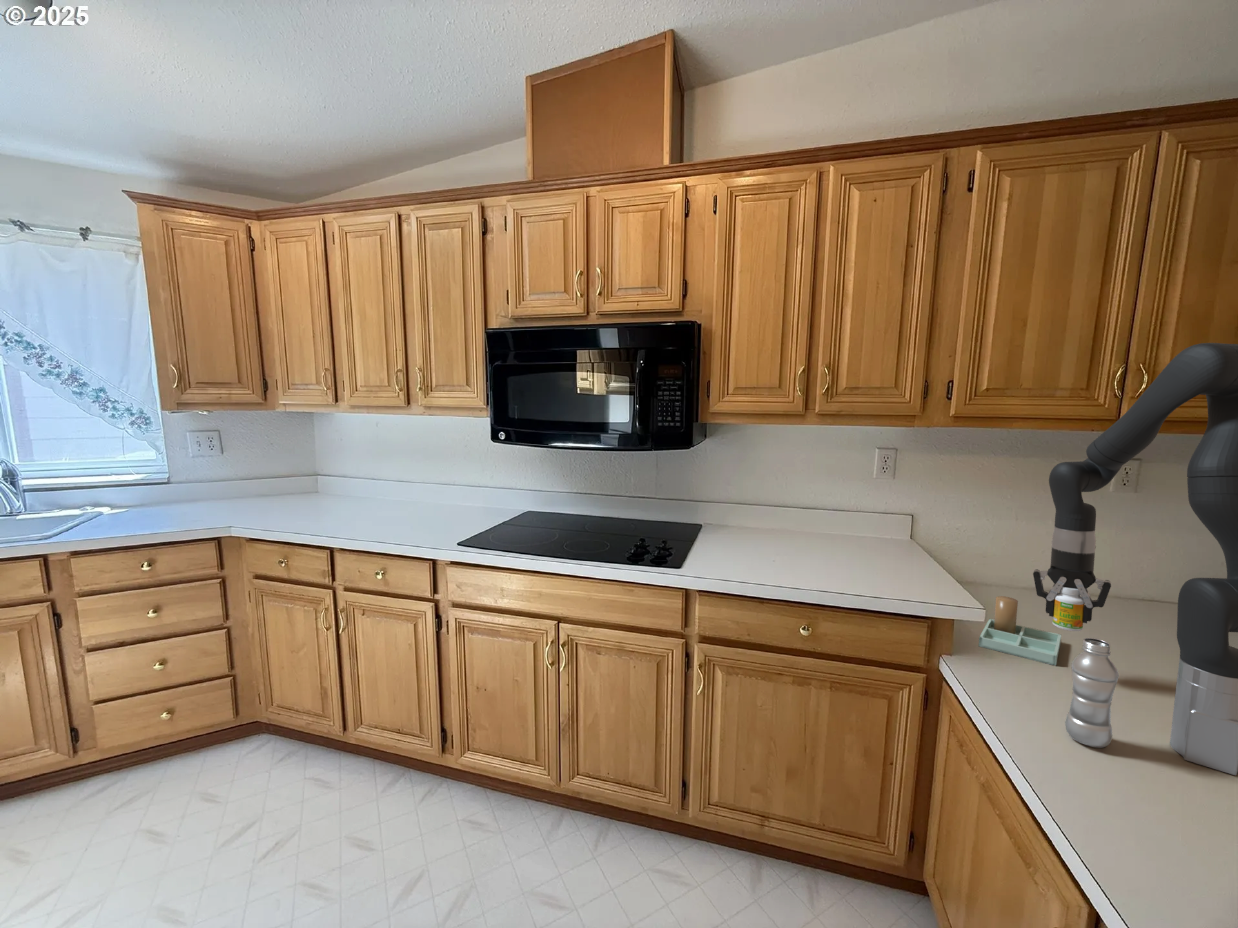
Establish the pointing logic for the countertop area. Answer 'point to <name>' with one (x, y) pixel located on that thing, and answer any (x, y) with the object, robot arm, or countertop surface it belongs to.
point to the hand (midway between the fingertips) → (1068, 618)
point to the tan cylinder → (1005, 614)
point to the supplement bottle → (1068, 609)
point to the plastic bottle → (1092, 695)
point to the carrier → (1022, 643)
